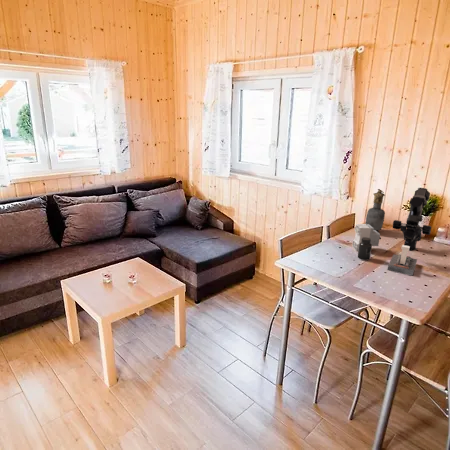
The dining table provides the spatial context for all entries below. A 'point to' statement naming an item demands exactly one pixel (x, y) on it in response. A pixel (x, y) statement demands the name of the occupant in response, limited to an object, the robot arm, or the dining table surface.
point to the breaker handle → (404, 254)
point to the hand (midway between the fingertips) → (408, 240)
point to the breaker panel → (402, 265)
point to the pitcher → (376, 212)
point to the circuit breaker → (365, 235)
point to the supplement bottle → (365, 249)
